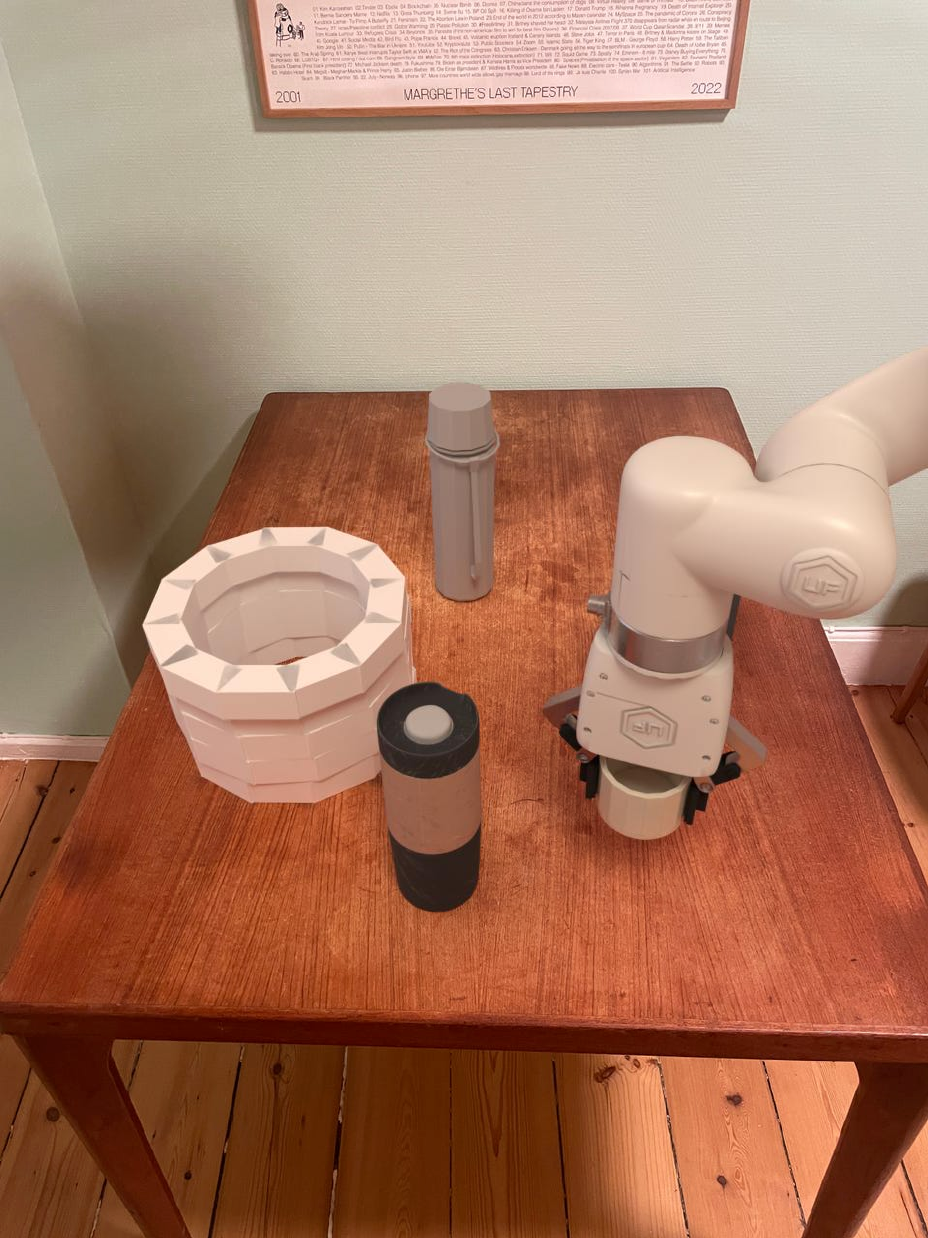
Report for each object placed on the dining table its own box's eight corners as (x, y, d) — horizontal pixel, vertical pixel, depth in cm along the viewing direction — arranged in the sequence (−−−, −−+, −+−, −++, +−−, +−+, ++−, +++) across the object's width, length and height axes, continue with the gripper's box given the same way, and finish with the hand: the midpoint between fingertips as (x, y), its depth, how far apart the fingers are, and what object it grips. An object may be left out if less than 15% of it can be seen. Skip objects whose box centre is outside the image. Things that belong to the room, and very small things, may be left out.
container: (413, 813, 82) (402, 689, 72) (159, 819, 82) (111, 696, 72) (419, 634, 101) (411, 515, 91) (212, 638, 101) (181, 521, 91)
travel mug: (404, 926, 74) (386, 767, 61) (385, 850, 79) (365, 691, 66) (493, 903, 75) (493, 743, 62) (468, 830, 81) (464, 671, 68)
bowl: (692, 781, 71) (700, 739, 68) (677, 850, 66) (685, 808, 63) (607, 760, 73) (611, 718, 70) (586, 826, 68) (590, 784, 65)
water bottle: (425, 575, 110) (414, 386, 94) (485, 562, 112) (485, 375, 95) (446, 621, 103) (438, 426, 87) (510, 607, 105) (514, 414, 89)
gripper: (521, 633, 58) (520, 806, 69) (802, 692, 53) (750, 867, 64) (552, 567, 63) (546, 738, 75) (810, 614, 58) (761, 789, 70)
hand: (641, 796), depth 69 cm, fingers closed on bowl, 7 cm apart
